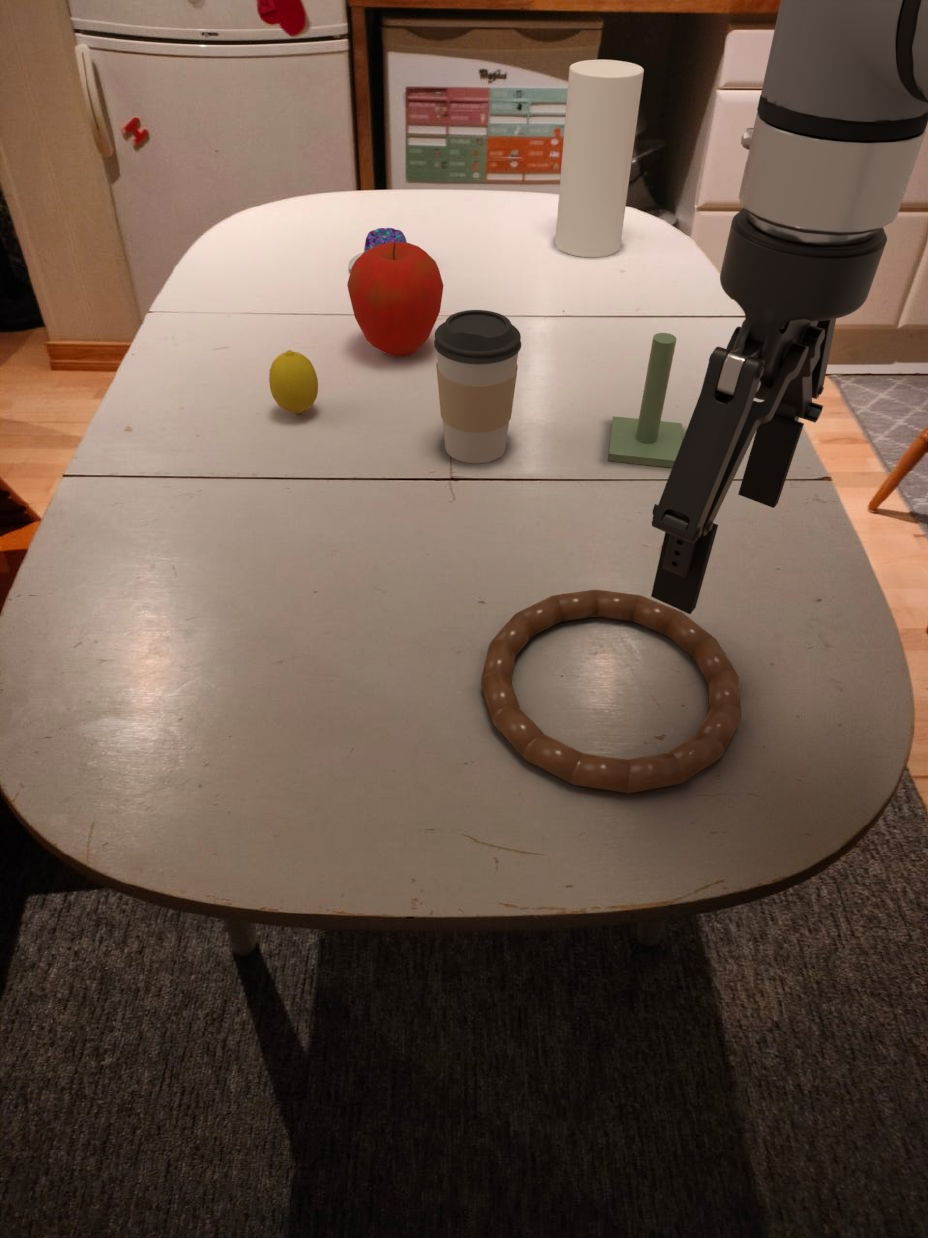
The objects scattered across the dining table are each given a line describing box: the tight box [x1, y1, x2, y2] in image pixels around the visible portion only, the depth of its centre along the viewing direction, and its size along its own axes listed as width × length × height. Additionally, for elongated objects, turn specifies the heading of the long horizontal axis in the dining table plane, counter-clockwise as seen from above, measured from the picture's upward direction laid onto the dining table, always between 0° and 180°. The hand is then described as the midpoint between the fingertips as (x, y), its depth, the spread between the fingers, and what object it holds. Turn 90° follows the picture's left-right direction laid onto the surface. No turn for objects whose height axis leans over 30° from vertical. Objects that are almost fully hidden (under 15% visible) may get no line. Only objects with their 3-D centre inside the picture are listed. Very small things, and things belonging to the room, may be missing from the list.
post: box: [607, 332, 683, 469], centre depth 92 cm, size 8×8×13 cm
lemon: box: [268, 349, 319, 415], centre depth 98 cm, size 6×6×8 cm
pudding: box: [347, 227, 408, 271], centre depth 130 cm, size 12×12×5 cm
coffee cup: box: [433, 309, 522, 464], centre depth 91 cm, size 9×9×15 cm
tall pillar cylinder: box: [554, 59, 645, 258], centre depth 131 cm, size 11×11×25 cm
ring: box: [480, 589, 742, 794], centre depth 69 cm, size 21×21×2 cm
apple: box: [346, 242, 444, 358], centre depth 108 cm, size 12×12×14 cm
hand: (718, 547), depth 57 cm, fingers open, 13 cm apart
